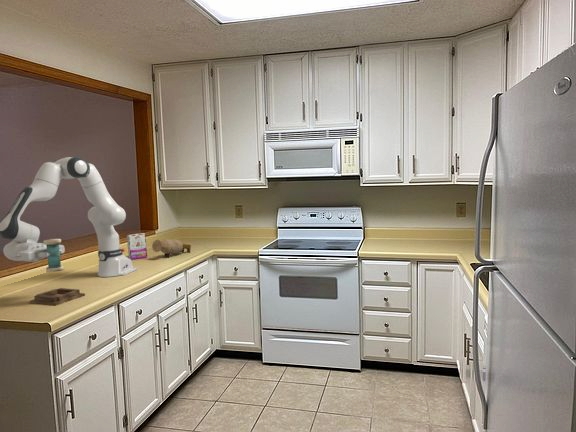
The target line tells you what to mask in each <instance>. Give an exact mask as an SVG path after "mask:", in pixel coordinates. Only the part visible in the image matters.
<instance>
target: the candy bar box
mask: <svg viewBox="0 0 576 432" xmlns="http://www.w3.org/2000/svg"><path fill="white" fill-rule="evenodd" d="M126 242H127V251H128V258H129V259H130V260H131V261H133V260H141V259H147V258H148V250H147V248H148V247H147V240H146V233H144V232H140V233H133V234H127V235H126Z"/></svg>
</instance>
